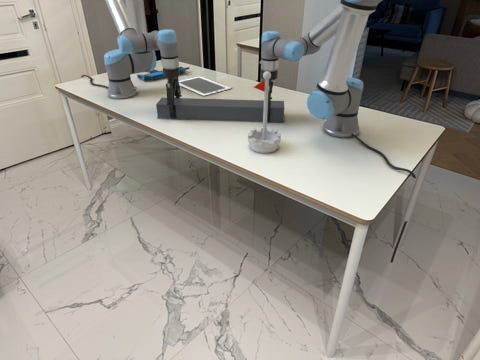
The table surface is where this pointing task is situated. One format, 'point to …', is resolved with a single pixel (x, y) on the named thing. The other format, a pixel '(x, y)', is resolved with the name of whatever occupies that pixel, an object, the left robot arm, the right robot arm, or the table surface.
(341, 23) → the right robot arm
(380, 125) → the table surface
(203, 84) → the tablet
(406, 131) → the table surface
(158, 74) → the submachine gun
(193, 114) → the wide beam
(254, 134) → the flag stand
